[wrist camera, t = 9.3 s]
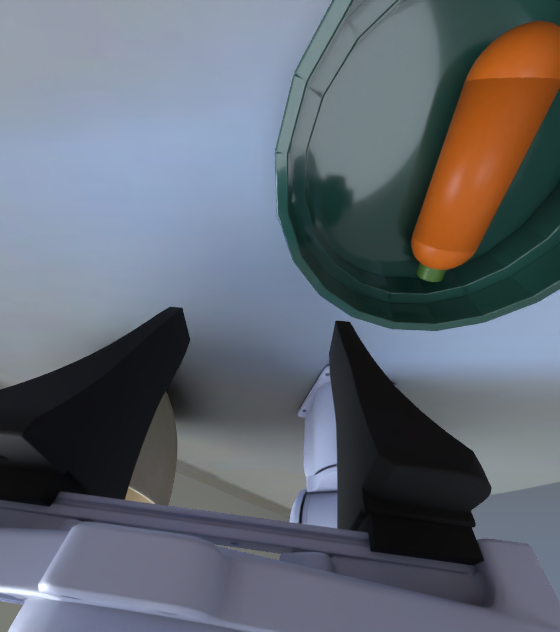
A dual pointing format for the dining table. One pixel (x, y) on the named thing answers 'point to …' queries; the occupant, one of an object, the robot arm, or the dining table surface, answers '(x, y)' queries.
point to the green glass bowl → (407, 164)
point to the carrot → (486, 144)
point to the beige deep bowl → (156, 459)
